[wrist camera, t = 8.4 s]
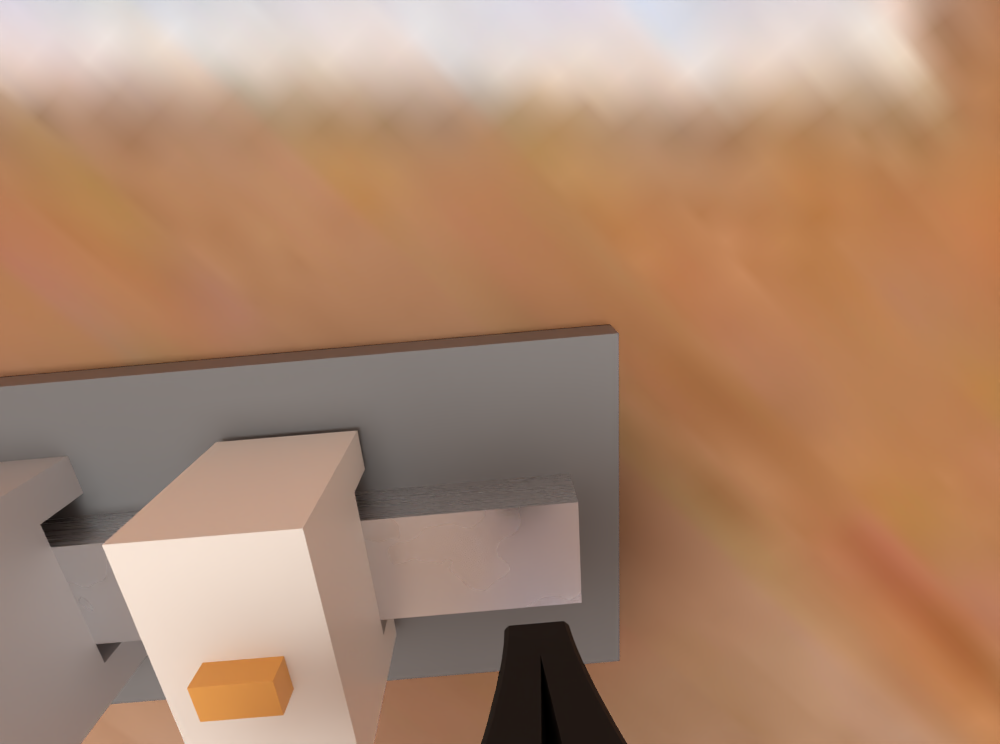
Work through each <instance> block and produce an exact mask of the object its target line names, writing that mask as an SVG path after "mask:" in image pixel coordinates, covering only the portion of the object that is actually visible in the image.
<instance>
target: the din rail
mask: <svg viewBox="0 0 1000 744" xmlns="http://www.w3.org/2000/svg"><path fill="white" fill-rule="evenodd" d="M354 493H355V497H356V502H357V507H358V512H359V517H360V522H361V527H362V532H363V537H364V542H365V546H366V551H367V556H368V561H369V566H370V571H371V576H372V581H373V586H374V591H375V595H376V600H377V605H378V610H379V615H380V620H386V619H397V618H409V617H421V616H433V615H444V614H456V613H468V612H479V611H491V610H503V609H515V608H526V607H538V606H550V605H561V604H573V603H582V597H581V569H580V540H579V511H578V500H577V497H576V493H575V490H574V487H573V483H572V480H571V477H570V474H558V475H546V476H534V477H523V478H511V479H500V480H488V481H476V482H465V483H453V484H441V485H430V486H418V487H407V488H395V489H383V490H372V491H360V492H354ZM139 511H140V510H139ZM139 511H127V512H116V513H104V514H92V515H81V516H69V517H58V518H49V519H47V520H46V521H44V522H43V523H42V524H40V525H41V527H42V529H43V531H44V534H45V536H46V538H47V540H48V542H49V544H50V546H51V549H52V551H53V553H54V555H55V557H56V559H57V562H58V564H59V566H60V568H61V570H62V572H63V574H64V577H65V579H66V581H67V583H68V585H69V587H70V589H71V592H72V594H73V596H74V598H75V600H76V602H77V604H78V607H79V609H80V611H81V613H82V615H83V617H84V620H85V622H86V624H87V626H88V628H89V630H90V632H91V635H92V637H93V639H94V641H95V643H96V644H105V643H116V642H128V641H140V640H141V638H140V635H139V633H138V630H137V628H136V626H135V623H134V621H133V618H132V616H131V614H130V611H129V609H128V606H127V604H126V602H125V599H124V597H123V594H122V592H121V590H120V587H119V585H118V583H117V580H116V578H115V575H114V573H113V571H112V568H111V566H110V563H109V561H108V559H107V556H106V554H105V551H104V549H103V547H102V544H104V543H105V542H106V541H107V540H108V539H109V538H110V537H111V536H112V535H114V534H115V533H116V532H117V531H118V530H119V529H120V528H121V527H122V526H124V525H125V524H126V523H127V522H128V521H129V520H130V519H131V518H132V517H134V516H135V515H136V514H137V513H138V512H139Z"/></svg>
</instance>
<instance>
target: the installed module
mask: <svg viewBox="0 0 1000 744" xmlns="http://www.w3.org/2000/svg"><path fill="white" fill-rule="evenodd" d="M81 494H83V492H82V489H81V487H80V485H79V482H78V480H77V477H76V475H75V473H74V470H73V468H72V465H71V463H70V461H69V458H68V456H63V457H52V458H40V459H29V460H17V461H6V462H0V744H81V743H82V742H83V740H84V739H85V738H86V736H87V735H88V734H89V732H90V731H91V729H92V728H93V727H94V725H95V724H96V723H97V721H98V720H99V719H100V717H101V716H102V715H103V713H104V712H105V711H106V709H107V708H108V707H109V705H110V704H111V703H112V701H113V700H114V699H115V697H116V696H117V695H118V693H119V692H120V691H121V689H122V688H123V686H124V685H125V684H126V682H127V681H128V680H129V678H130V677H131V676H132V674H133V673H134V672H135V670H136V669H137V668H138V666H139V665H140V664H141V662H142V661H143V660H144V658H145V657H146V656H147V652H146V650H145V647H144V645H143V642H142V640H140V641H128V642H116V643H105V644H96V643H95V641H94V639H93V637H92V635H91V632H90V630H89V628H88V626H87V624H86V622H85V620H84V617H83V615H82V613H81V611H80V609H79V607H78V604H77V602H76V600H75V598H74V596H73V594H72V592H71V589H70V587H69V585H68V583H67V581H66V579H65V577H64V574H63V572H62V570H61V568H60V566H59V564H58V562H57V559H56V557H55V555H54V553H53V551H52V549H51V546H50V544H49V542H48V540H47V538H46V536H45V534H44V531H43V529H42V527H41V525H40V524H42V523H43V522H44V521H46V520H47V519H49V518H50V517H51V516H53V515H54V514H55V513H57V512H58V511H60V510H61V509H62V508H64V507H65V506H66V505H68V504H69V503H71V502H72V501H73V500H75V499H76V498H77V497H79V496H80V495H81Z"/></svg>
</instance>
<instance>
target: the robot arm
mask: <svg viewBox="0 0 1000 744" xmlns="http://www.w3.org/2000/svg"><path fill="white" fill-rule="evenodd" d="M481 744H627V743H626V741H625V739H624V738H623V736H622V734H621V733H620V731H619V729H618V727H617V726H616V724H615V722H614V721H613V719H612V717H611V715H610V713H609V711H608V710H607V708H606V706H605V704H604V702H603V700H602V699H601V697H600V695H599V693H598V691H597V689H596V687H595V685H594V683H593V681H592V679H591V677H590V675H589V673H588V671H587V669H586V667H585V665H584V663H583V660H582V658H581V656H580V654H579V651H578V649H577V646H576V644H575V641H574V639H573V636H572V633H571V630H570V627H569V624H567V623H566V622H565V621H557V622H545V623H533V624H522V625H510V626H508V627H507V628H506V629H505V630H504V645H503V654H502V660H501V666H500V671H499V676H498V681H497V686H496V691H495V694H494V698H493V702H492V706H491V710H490V714H489V718H488V722H487V726H486V729H485V733H484V736H483V739H482V742H481Z"/></svg>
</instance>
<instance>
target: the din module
mask: <svg viewBox="0 0 1000 744" xmlns="http://www.w3.org/2000/svg"><path fill="white" fill-rule="evenodd" d="M364 470H365V467H364V462H363V457H362V452H361V447H360V441H359V436H358V431H345V432H333V433H320V434H308V435H296V436H284V437H272V438H260V439H248V440H236V441H223V442H216V443H215V444H214V445H212V446H211V447H210V448H209V449H208V450H207V451H206V452H205V453H204V454H202V455H201V456H200V457H199V458H198V459H197V460H196V461H195V462H194V463H192V464H191V465H190V466H189V467H188V468H187V469H186V470H185V471H184V472H182V473H181V474H180V475H179V476H178V477H177V478H176V479H175V480H174V481H172V482H171V483H170V484H169V485H168V486H167V487H166V488H165V489H164V490H162V491H161V492H160V493H159V494H158V495H157V496H156V497H155V498H154V499H152V500H151V501H150V502H149V503H148V504H147V505H146V506H145V507H144V508H142V509H141V510H140V511H139V512H138V513H137V514H136V515H135V516H134V517H132V518H131V519H130V520H129V521H128V522H127V523H126V524H125V525H124V526H122V527H121V528H120V529H119V530H118V531H117V532H116V533H115V534H114V535H112V536H111V537H110V538H109V539H108V540H107V541H106V542H105V543H104V544H102V547H103V549H104V551H105V554H106V556H107V559H108V561H109V563H110V566H111V568H112V571H113V573H114V575H115V578H116V580H117V583H118V585H119V587H120V590H121V592H122V594H123V597H124V599H125V602H126V604H127V606H128V609H129V611H130V614H131V616H132V618H133V621H134V623H135V626H136V628H137V630H138V633H139V635H140V638H141V640H142V642H143V645H144V647H145V650H146V652H147V654H148V657H149V659H150V661H151V664H152V666H153V669H154V671H155V673H156V676H157V678H158V681H159V683H160V685H161V688H162V690H163V693H164V695H165V697H166V700H167V702H168V705H169V707H170V709H171V712H172V714H173V717H174V719H175V721H176V724H177V726H178V728H179V731H180V733H181V736H182V738H183V740H184V743H185V744H374V741H375V736H376V731H377V726H378V721H379V716H380V712H381V707H382V702H383V697H384V692H385V687H386V682H387V678H388V673H389V668H390V663H391V658H392V653H393V648H394V644H395V639H396V629H395V623H394V619H386V620H380V615H379V610H378V605H377V600H376V595H375V591H374V586H373V581H372V576H371V571H370V566H369V561H368V556H367V551H366V546H365V542H364V537H363V532H362V527H361V522H360V517H359V512H358V507H357V502H356V497H355V493H354V492H355V490H356V488H357V486H358V483H359V481H360V479H361V477H362V474H363V472H364Z"/></svg>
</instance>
